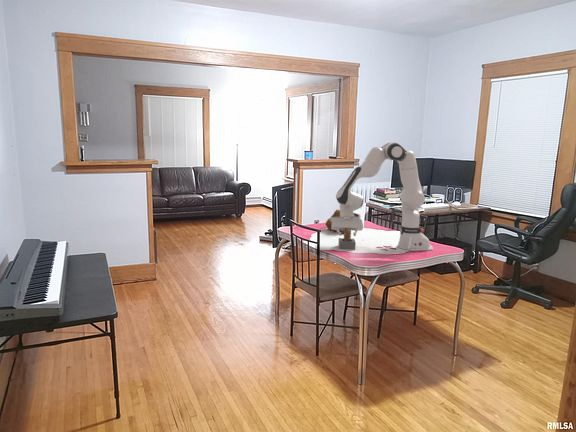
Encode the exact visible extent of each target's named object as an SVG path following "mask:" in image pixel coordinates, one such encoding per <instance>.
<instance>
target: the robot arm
mask: <svg viewBox="0 0 576 432" xmlns="http://www.w3.org/2000/svg"><path fill="white" fill-rule="evenodd" d="M386 160H389V161H396V162H397V163H398V168H399V175H400V182H401V184H402V187H403V189H402V191H401V193H400V198H401V199H400V200H401V201H400V202H401V213H402V215H401V225H400V228H399V235H400V236H399V240H398V244H397V247H398V248H399V249H403V250H407V251H411V252H412V251H413V252H415V251H417V252H418V251H419V252H422V251H433V250H434V247H433V245H431V243H430V239H429V238H428V237H427V236H426V235H425V234H424V233H423V232H424V228H422V227H420V215H421V214H420V211H419V207H422V206H423V205H424V203H425V201H426V197H425V195H424V192H423V187H422V185H421V181H420V179H419V171H418V164H417V163H418V162H417V160H416V156H415V153H414V152H413V151H412V150H407V149H405V148H404V146H403V145H402V143H399V142H396V141H395V142H387V143H385V144H384V145H383V146H381V147H379V146H373V147H372V148H371V149H370V150H369V152H368V154H367V155H366V157H365V159H364V161H363V162H362V164H361V165H360V166H357V167H355V168H354V170H353V171H352V172H351V174H350V175H349V177H347V179H346V180H345V182H344V183H343V185H342V186H341V187H340V189H338V191H337V192H336V195H335V199H336V200H337V203H338V204H339V210H340V217H332V218H331V217H330V218H331V222H332V225H331V229H332V230H331V231H334V230H337V232H338V233H337V232H336V233H337V234H338V236H342V233H341V232H340V231H339V230H344V229H351V231H353V233H352V234H353V237H356V236H357V232H358V231H360V232H361V231H363V229H364V223H363V219H362V218H361V214H359V213H356V212H354V211H357V210H359V209H361V208H362V207H363V205H364V197H363V195H361V194H359V193H357V192H355V191H351V189H352V188H353V187H354V185H355V183H356V182H357V181H358V180H359V179H363V178H372V177H375V176H377V174H378V173H379V172H380V169H381V167H382V165H383V164H384V163H385V161H386Z"/></svg>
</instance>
